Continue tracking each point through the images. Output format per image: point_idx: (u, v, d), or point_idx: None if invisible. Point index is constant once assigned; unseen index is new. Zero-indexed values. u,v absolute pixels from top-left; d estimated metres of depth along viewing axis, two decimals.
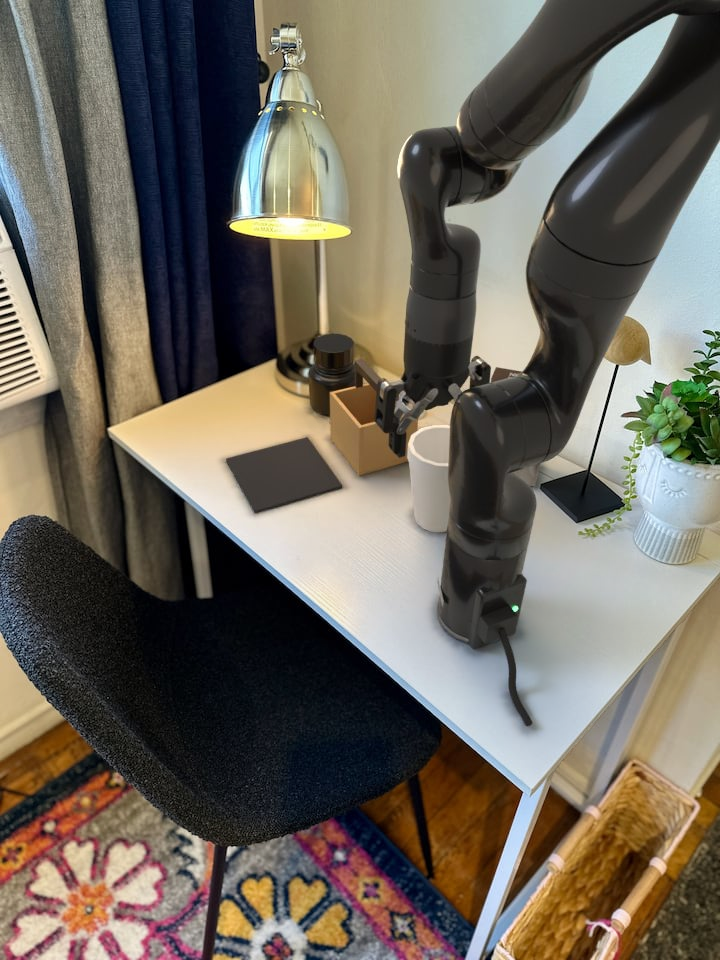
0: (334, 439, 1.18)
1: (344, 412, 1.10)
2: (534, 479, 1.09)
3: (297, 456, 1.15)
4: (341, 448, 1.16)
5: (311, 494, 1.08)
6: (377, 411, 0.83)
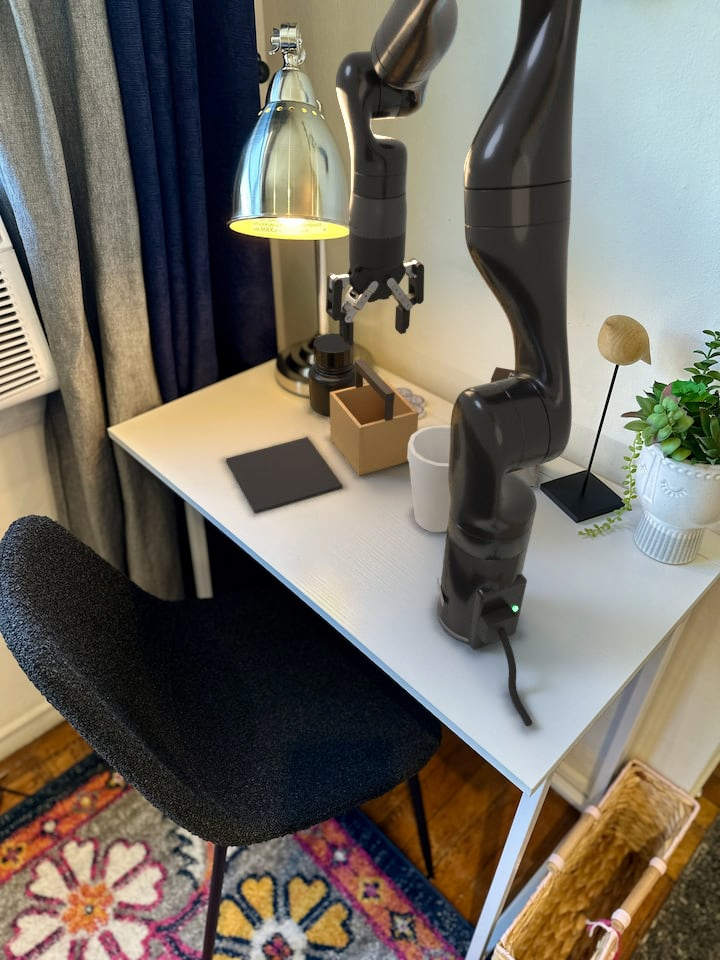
0: (334, 439, 1.18)
1: (344, 412, 1.10)
2: (534, 479, 1.09)
3: (297, 456, 1.15)
4: (341, 448, 1.16)
5: (311, 494, 1.08)
6: (328, 302, 0.99)
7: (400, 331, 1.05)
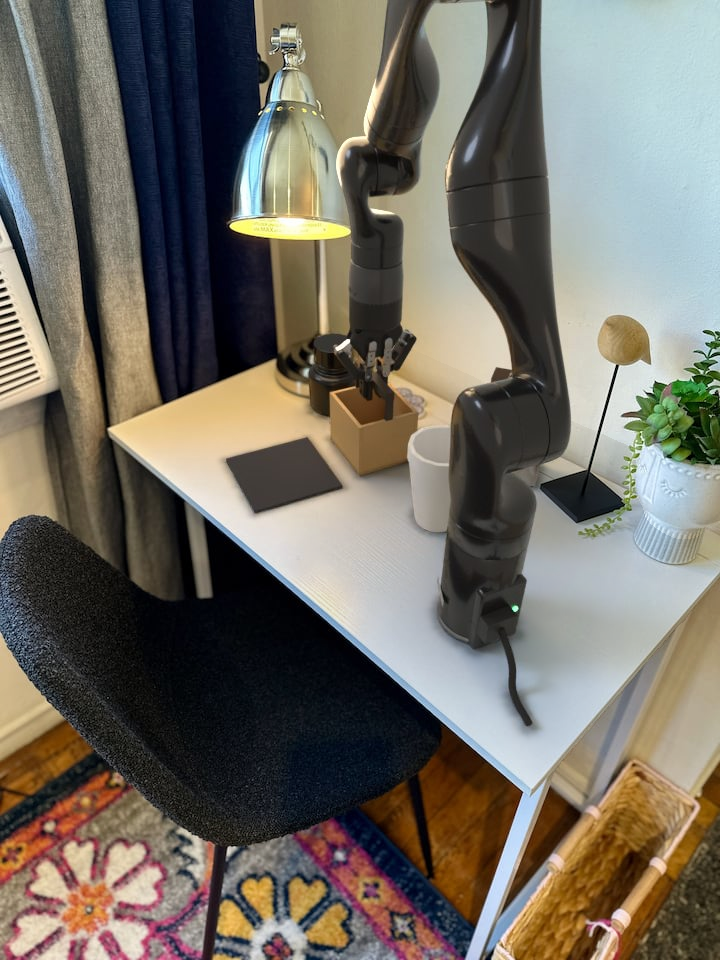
0: (334, 439, 1.18)
1: (344, 412, 1.10)
2: (534, 479, 1.09)
3: (297, 456, 1.15)
4: (341, 448, 1.16)
5: (311, 494, 1.08)
6: None
7: (379, 395, 1.11)
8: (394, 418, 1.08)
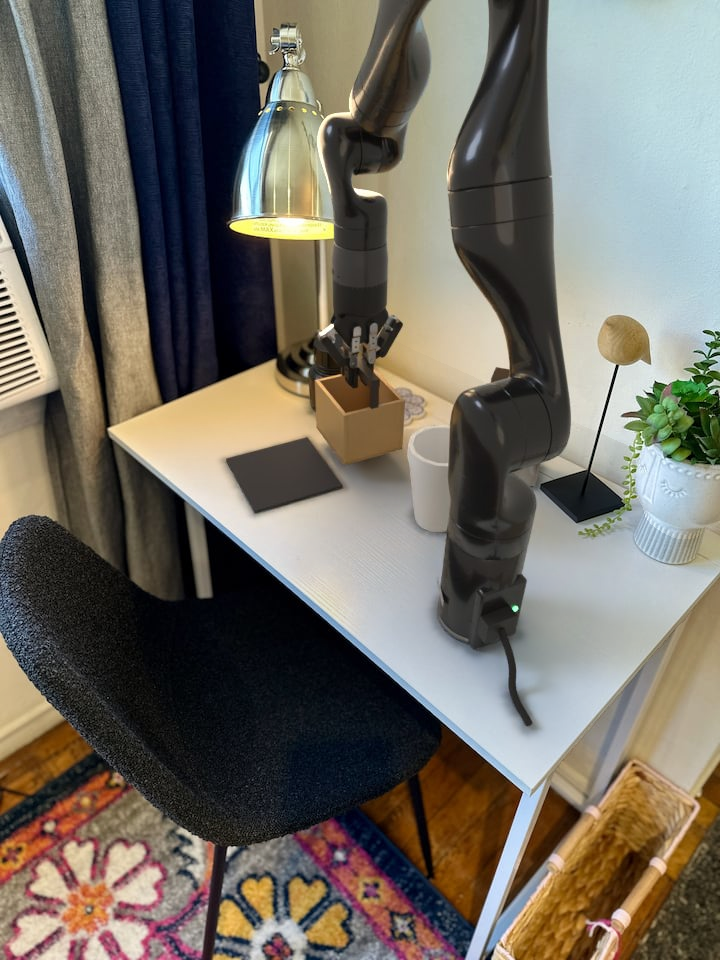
0: (320, 428, 1.15)
1: (329, 400, 1.07)
2: (534, 479, 1.09)
3: (297, 456, 1.15)
4: (327, 437, 1.13)
5: (311, 494, 1.08)
6: (329, 353, 1.04)
7: (364, 383, 1.08)
8: (380, 406, 1.05)
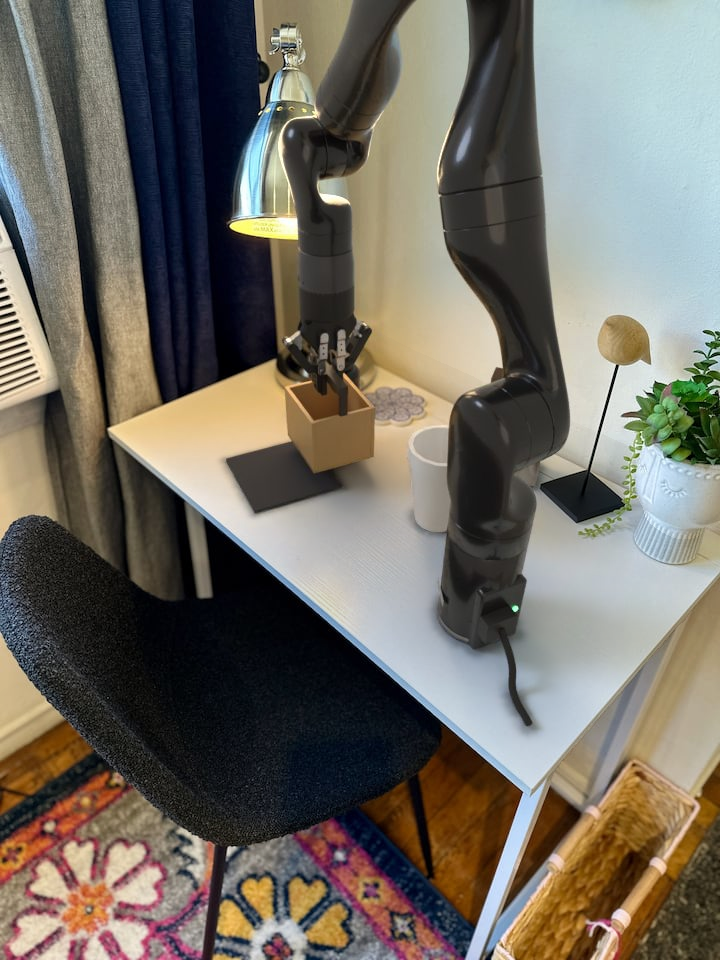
0: (291, 436, 1.13)
1: (298, 407, 1.06)
2: (534, 479, 1.09)
3: (297, 456, 1.15)
4: (297, 445, 1.11)
5: (311, 494, 1.08)
6: None
7: None
8: (349, 413, 1.04)
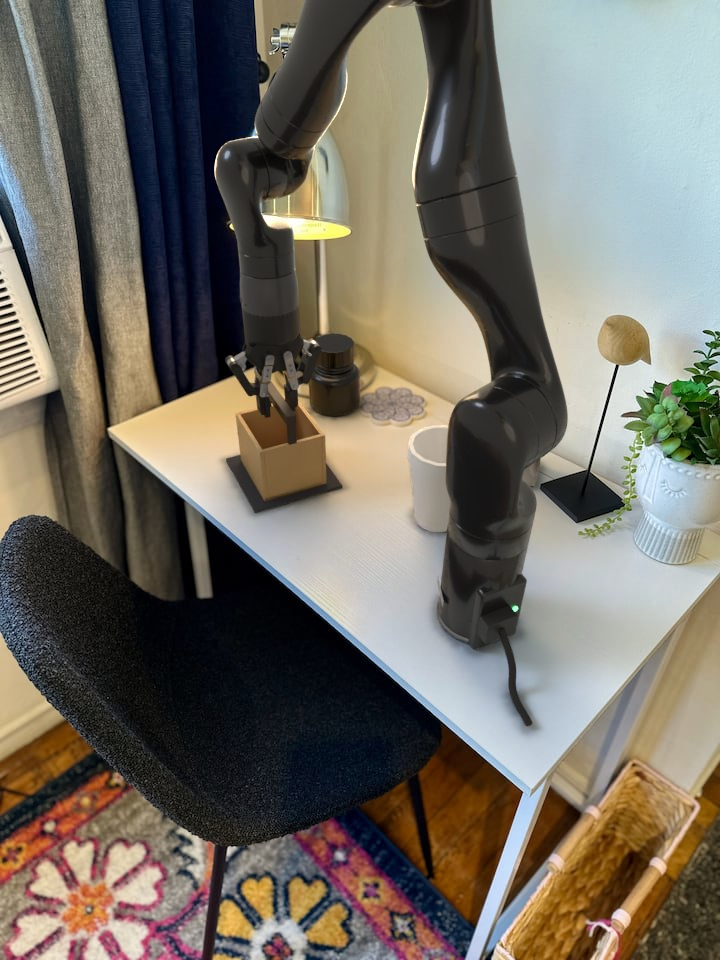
0: (243, 461, 1.12)
1: (247, 434, 1.04)
2: (534, 479, 1.09)
3: None
4: (249, 471, 1.10)
5: (311, 494, 1.08)
6: None
7: None
8: (298, 441, 1.03)
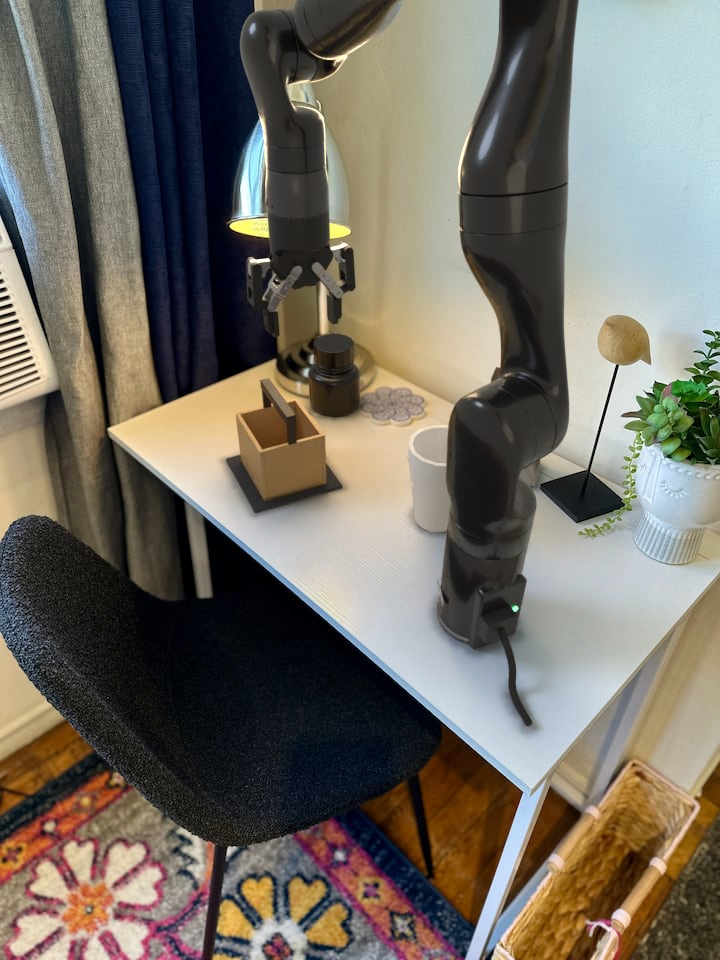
0: (243, 461, 1.12)
1: (247, 434, 1.04)
2: (534, 479, 1.09)
3: None
4: (249, 471, 1.10)
5: (311, 494, 1.08)
6: (249, 290, 0.91)
7: (332, 321, 0.98)
8: (298, 441, 1.03)
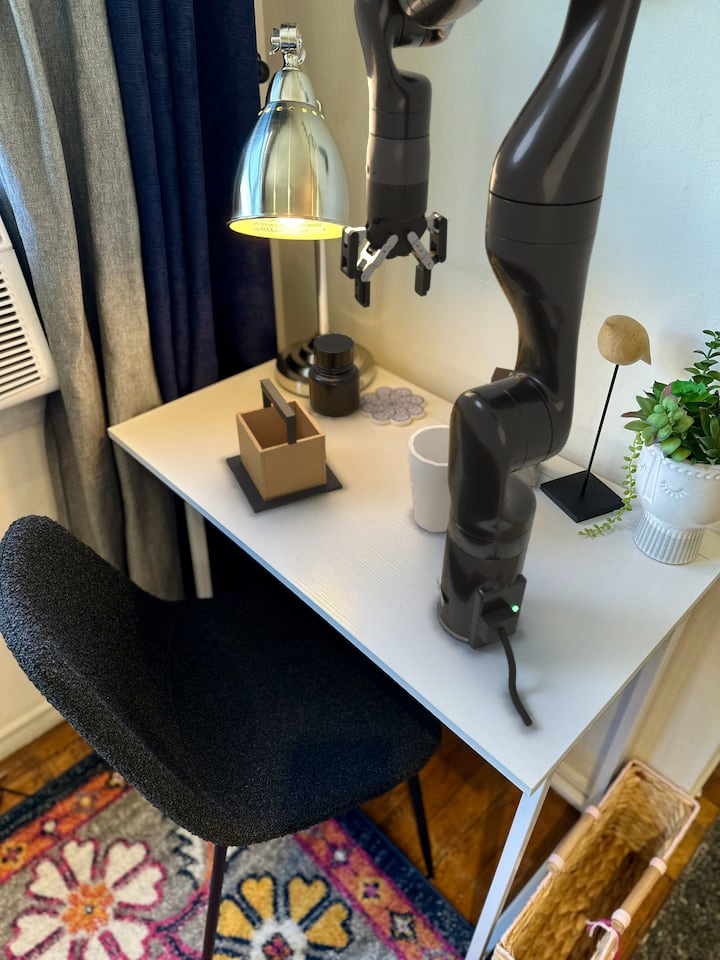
0: (243, 461, 1.12)
1: (247, 434, 1.04)
2: (534, 479, 1.09)
3: None
4: (249, 471, 1.10)
5: (311, 494, 1.08)
6: (343, 259, 0.90)
7: (420, 293, 0.97)
8: (298, 441, 1.03)
